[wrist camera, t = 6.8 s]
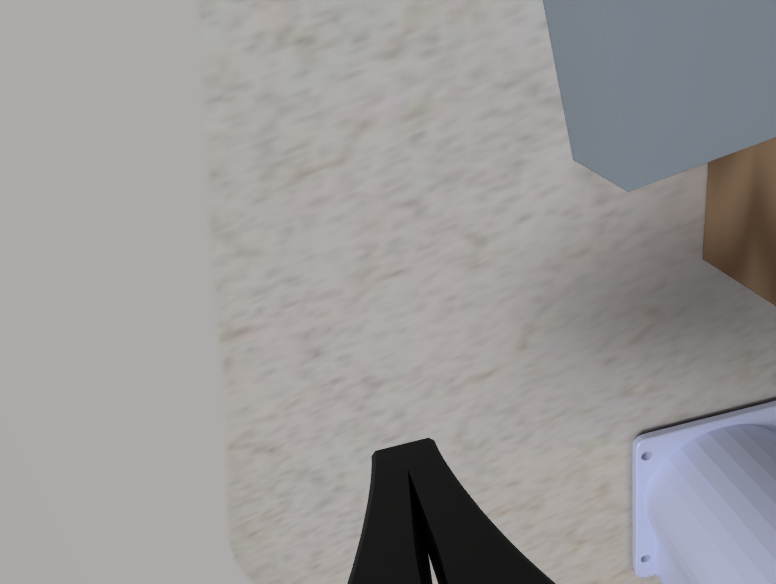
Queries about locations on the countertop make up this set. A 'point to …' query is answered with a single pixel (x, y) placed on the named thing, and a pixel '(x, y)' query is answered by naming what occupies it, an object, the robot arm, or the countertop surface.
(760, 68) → the slate block
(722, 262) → the walnut board
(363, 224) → the countertop surface
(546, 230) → the countertop surface
